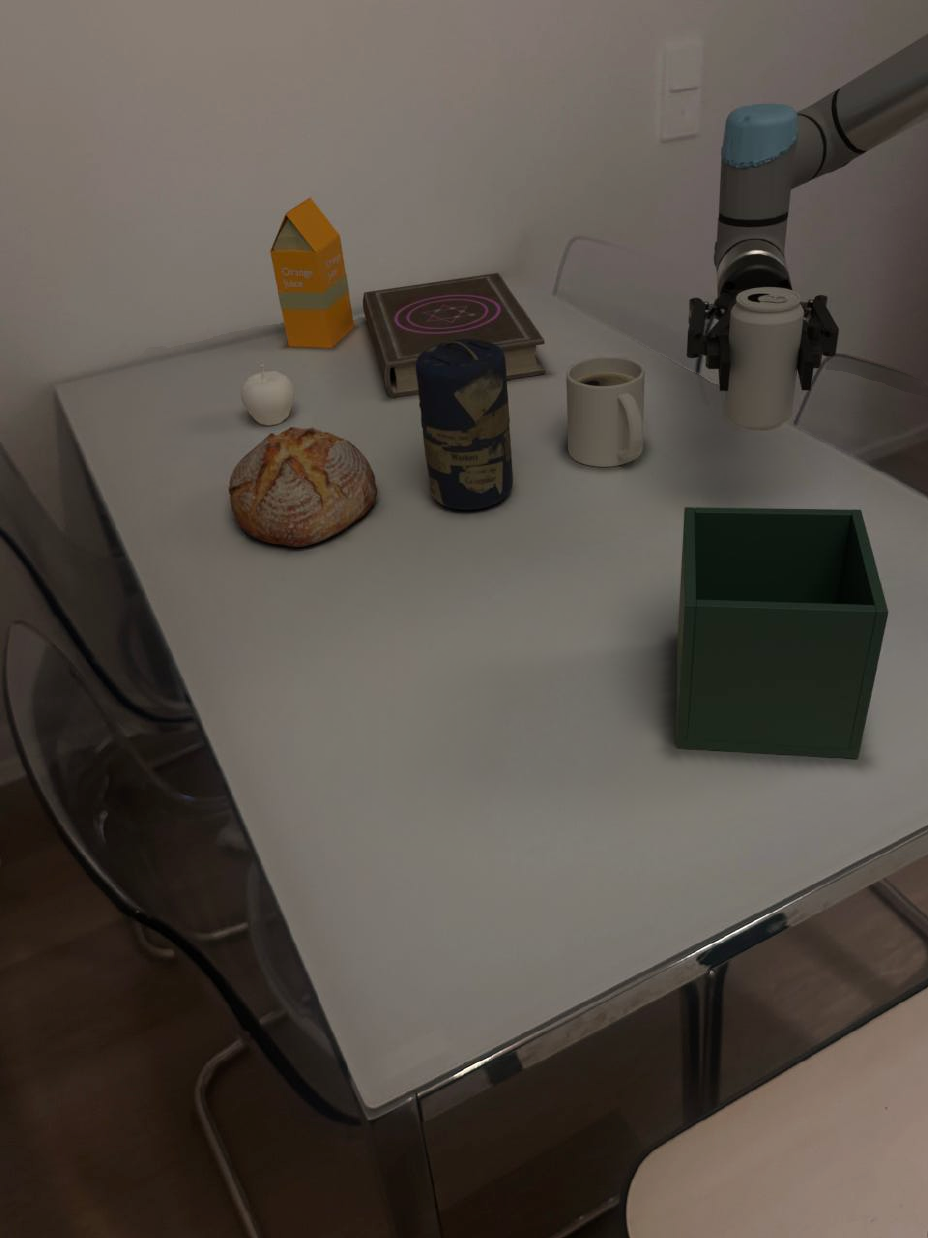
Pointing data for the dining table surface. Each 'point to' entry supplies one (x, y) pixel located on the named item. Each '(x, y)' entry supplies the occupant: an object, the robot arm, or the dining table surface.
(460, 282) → the book
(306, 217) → the orange juice
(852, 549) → the waste bin
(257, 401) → the plain white apple
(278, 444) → the bread
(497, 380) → the canister
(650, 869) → the dining table surface
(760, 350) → the beverage can
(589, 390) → the mug
